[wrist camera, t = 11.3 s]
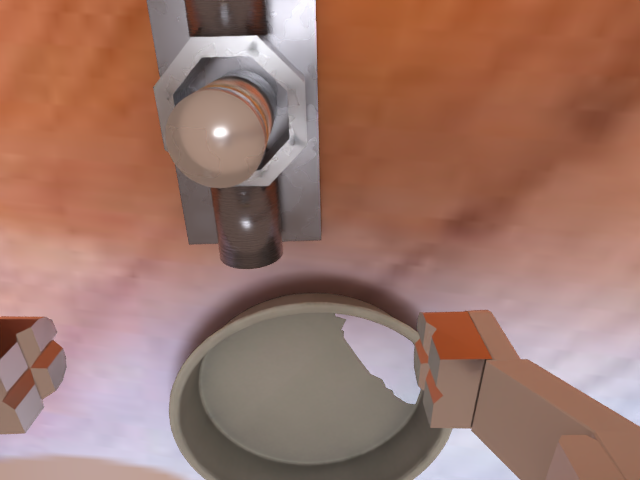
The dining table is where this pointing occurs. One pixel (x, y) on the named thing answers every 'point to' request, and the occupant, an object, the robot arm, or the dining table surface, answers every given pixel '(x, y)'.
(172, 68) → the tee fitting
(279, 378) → the cake pan
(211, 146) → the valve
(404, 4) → the dining table surface
